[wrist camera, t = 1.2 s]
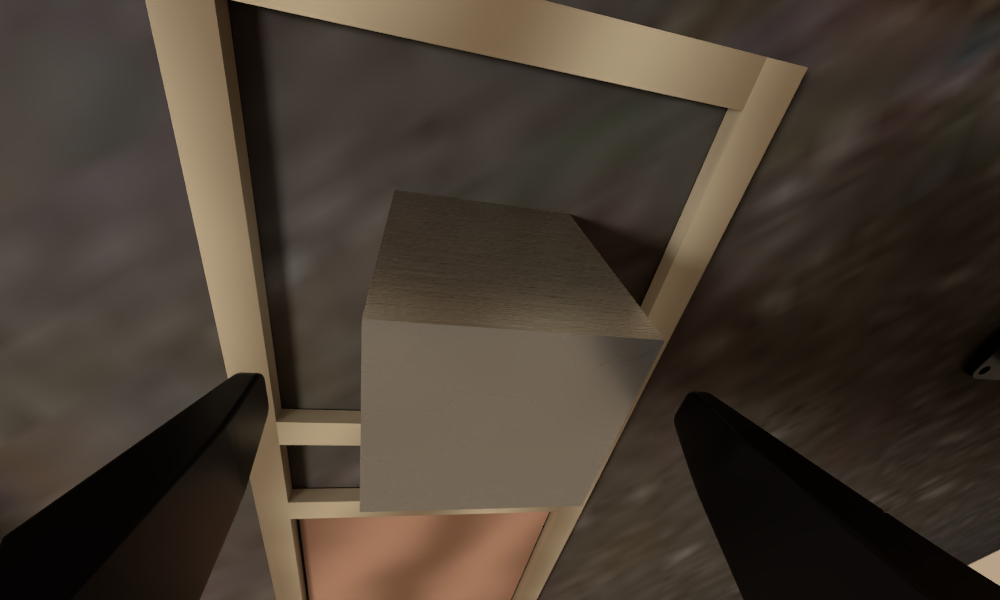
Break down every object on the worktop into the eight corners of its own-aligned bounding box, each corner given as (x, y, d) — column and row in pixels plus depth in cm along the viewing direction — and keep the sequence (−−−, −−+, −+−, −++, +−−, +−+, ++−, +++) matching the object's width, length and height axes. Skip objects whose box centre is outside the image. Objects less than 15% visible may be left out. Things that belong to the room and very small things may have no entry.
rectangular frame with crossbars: (790, 66, 10) (808, 67, 10) (522, 613, 27) (523, 624, 27) (143, -98, 7) (122, -107, 7) (289, 633, 24) (286, 646, 24)
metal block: (569, 213, 12) (665, 340, 7) (530, 345, 15) (581, 506, 10) (394, 189, 11) (361, 319, 6) (387, 336, 13) (359, 512, 8)
